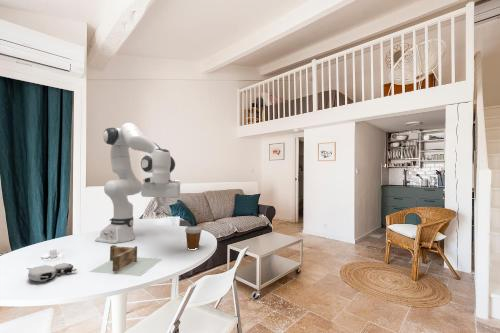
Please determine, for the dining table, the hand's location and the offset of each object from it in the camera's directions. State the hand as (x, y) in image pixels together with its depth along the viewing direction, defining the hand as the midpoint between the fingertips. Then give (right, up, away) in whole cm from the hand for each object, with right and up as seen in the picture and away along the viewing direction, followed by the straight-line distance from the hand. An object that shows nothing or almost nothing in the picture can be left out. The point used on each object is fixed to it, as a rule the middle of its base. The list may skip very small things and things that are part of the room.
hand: (160, 205), depth 127 cm
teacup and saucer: (-55, -26, -1) cm, 61 cm away
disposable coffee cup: (+13, -28, +16) cm, 35 cm away
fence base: (-16, -26, -7) cm, 31 cm away
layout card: (-11, -27, -11) cm, 31 cm away
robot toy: (-37, -26, -24) cm, 51 cm away
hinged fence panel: (-11, -25, -15) cm, 31 cm away
